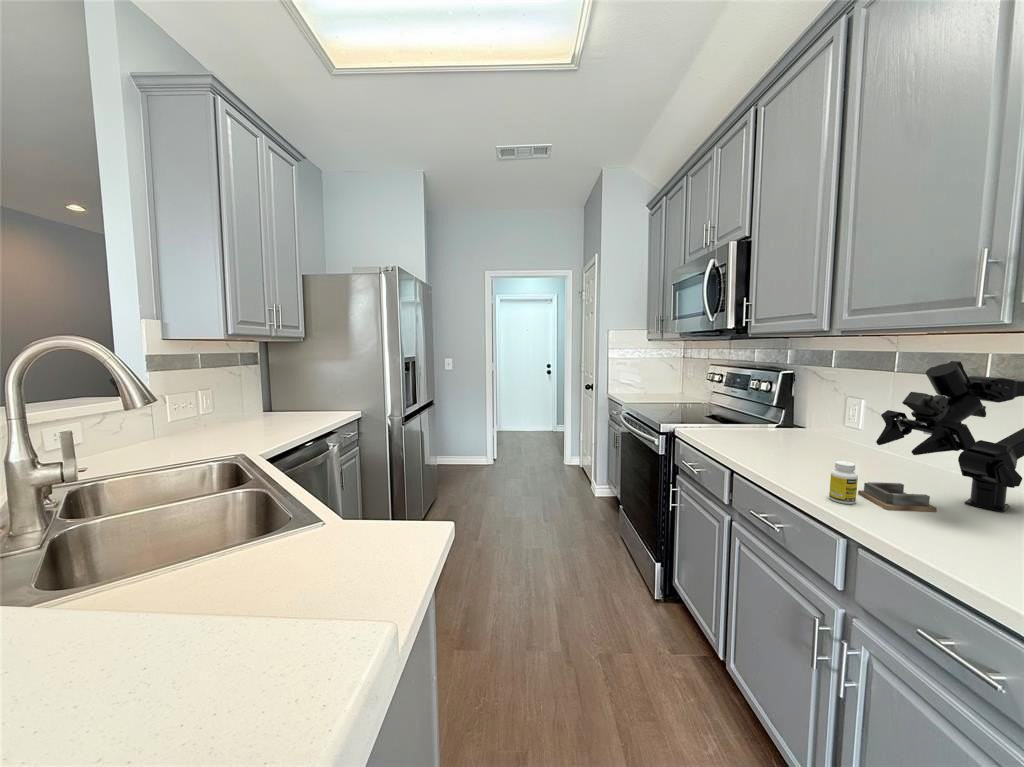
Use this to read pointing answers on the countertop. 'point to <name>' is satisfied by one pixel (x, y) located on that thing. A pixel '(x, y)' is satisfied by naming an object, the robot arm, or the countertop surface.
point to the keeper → (895, 497)
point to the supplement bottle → (843, 483)
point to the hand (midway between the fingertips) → (894, 448)
